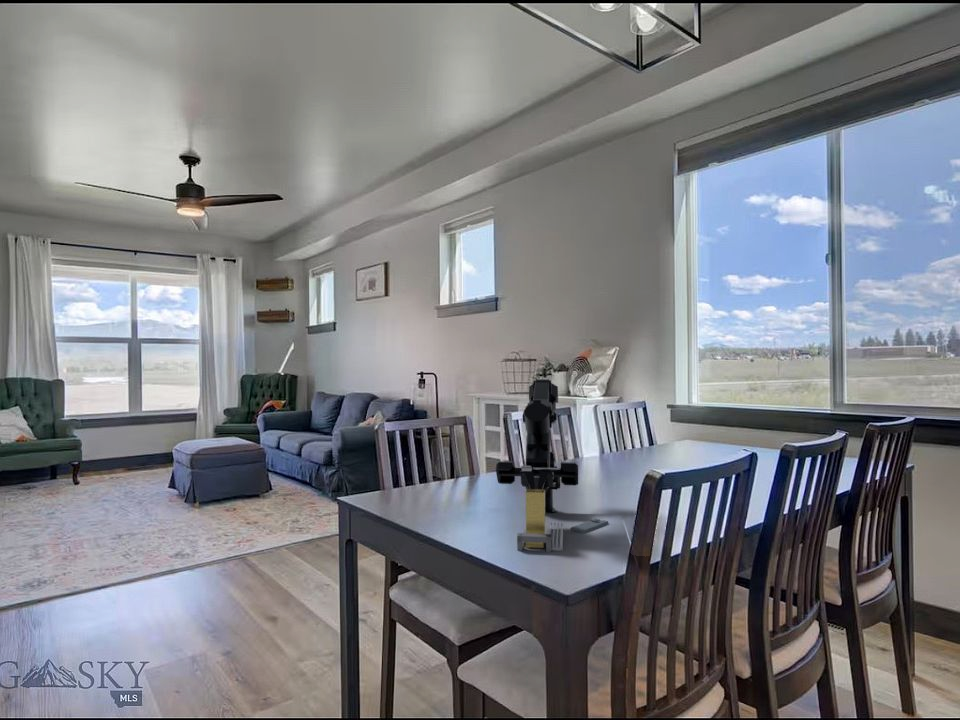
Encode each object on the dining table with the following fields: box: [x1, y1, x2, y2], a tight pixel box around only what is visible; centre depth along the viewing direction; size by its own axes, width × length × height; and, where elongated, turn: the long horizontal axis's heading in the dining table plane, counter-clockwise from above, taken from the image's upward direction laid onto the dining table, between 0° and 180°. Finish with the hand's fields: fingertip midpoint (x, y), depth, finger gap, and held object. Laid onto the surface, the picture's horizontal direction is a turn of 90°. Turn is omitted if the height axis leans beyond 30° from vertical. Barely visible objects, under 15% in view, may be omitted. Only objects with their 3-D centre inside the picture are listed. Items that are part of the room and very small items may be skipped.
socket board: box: [516, 522, 564, 553], centre depth 128 cm, size 16×12×4 cm
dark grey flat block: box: [570, 518, 609, 534], centre depth 138 cm, size 4×10×2 cm, turn 135°
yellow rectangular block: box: [525, 489, 546, 549], centre depth 126 cm, size 6×4×11 cm, turn 171°
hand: (536, 505), depth 129 cm, fingers closed, pressing on yellow rectangular block
